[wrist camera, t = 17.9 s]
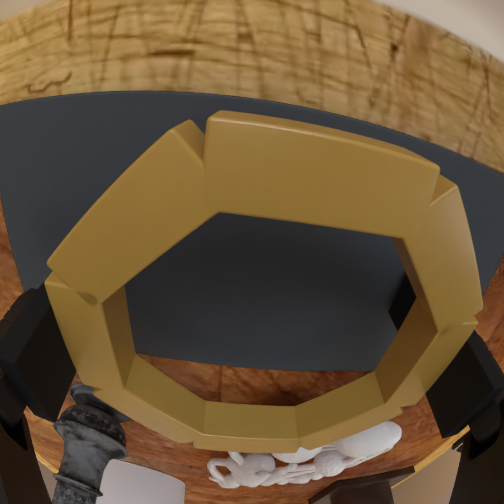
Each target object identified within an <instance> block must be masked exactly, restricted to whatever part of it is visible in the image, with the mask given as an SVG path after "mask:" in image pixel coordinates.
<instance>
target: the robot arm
mask: <svg viewBox="0 0 504 504" xmlns="http://www.w3.org/2000/svg"><path fill="white" fill-rule="evenodd" d="M50 274H51V273H50ZM50 274H49V275H50ZM49 275H48V276H49ZM46 279H47V278H46ZM46 279H45V280H46ZM45 280H44V282H45ZM44 282H43V283H42V284H41V285H40V287H39V288H38V289H34V288H30V289H29V290H27V291H26V292H25V293H23V294H22V295H20V296H19V297H18V298H17V300H16V301H15V302H14V303H13V305H12V306H11V307H10V310H8V311H7V313H6V314H5V316H4V319H2V320H1V321H0V504H52V502H51V500H50V497H49V494H48V491H47V489H46V486H45V483H44V480H43V477H42V474H41V471H40V468H39V465H38V462H37V458H36V455H35V451H34V447H33V444H32V440H31V436H30V431H29V427H28V422H27V419H26V417H25V414H24V413H23V412H24V410H25V408H26V405H27V406H28V407H29V409H30V410H31V411H32V412H33V414H34V415H36V416H38V417H41V418H43V419H46V420H48V421H51V422H53V423H56V420H57V418H58V415H59V412H60V410H61V407H62V405H63V402H64V400H65V397H66V395H67V392H68V390H69V387H70V385H71V383H72V380H73V378H74V376H75V373H76V368H75V366H74V364H73V362H72V359H71V357H70V355H69V352H68V350H67V347H66V345H65V342H64V340H63V337H62V334H61V332H60V329H59V326H58V324H57V321H56V318H55V315H54V312H53V309H52V306H51V304H50V301H49V298H48V294H47V291H46V288H45V284H44ZM416 298H417V297H416V295H415V292H414V290H413V287H412V285H411V283H410V280H409V278H408V276H407V274H406V275H405V278H404V280H403V282H402V284H401V286H400V288H399V291H398V293H397V295H396V297H395V299H394V301H393V303H392V305H391V307H390V309H389V311H388V313H389V315H390V317H391V319H392V321H393V323H394V325H395V327H396V329H397V331H399V329H400V327H401V325H402V324H403V322H404V320H405V318H406V316H407V315H408V313H409V311H410V309H411V307H412V305H413V303H414V302H415V300H416ZM425 394H426V397H427V399H428V402H429V404H430V407H431V409H432V412H433V414H434V417H435V420H436V422H437V425H438V428H439V430H440V433H441V436H442V439H443V438H446V437H449V436H453V435H456V434H458V433H459V432H460V431H461V430H463V429H464V428H465V427H466V426H467V425H469V427H470V430H469V431H468V432H467V433H466V434H465V435H463V436H462V437H461V438H460V439H458V440H457V441H456V442H455V443H454V444H453V446H452V449H453V450H454V449H455V448H456V447H458V446H459V445H460V444H461V443H463V445H461V446H460V447H459V448H458V449H457V451H458V452H461V458H460V463H459V467H458V472H457V476H456V480H455V484H454V488H453V492H452V495H451V498H450V502H449V504H504V374H503V372H502V370H501V368H500V367H499V365H498V363H497V362H496V360H495V358H494V359H493V355H492V353H491V352H490V350H488V347H487V345H486V344H485V342H484V341H483V339H482V338H481V337H480V336H479V335H478V334H477V333H476V331H475V330H474V331H473V332H472V334H471V335H470V337H469V338H468V340H467V341H466V342H465V344H464V345H463V347H462V348H461V349H460V351H459V352H458V353H457V355H456V356H455V357H454V359H453V360H452V361H451V363H450V364H449V365H448V367H447V368H446V369H445V370H444V372H443V373H442V374H441V375H440V377H439V378H438V379H437V380H436V381H435V383H434V384H433V385H432V386H431V387H430V389H429V390H428V391H427V392H426V393H425Z"/></svg>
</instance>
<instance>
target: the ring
mask: <svg viewBox="0 0 504 504" xmlns="http://www.w3.org/2000/svg"><path fill="white" fill-rule="evenodd" d="M439 173H440V167H439V166H438V165H437V164H435V163H433V162H431V161H429V160H427V159H426V158H424V157H422V156H420V155H418V154H416V153H414V152H412V151H410V150H408V149H406V148H403V147H400V146H397V145H394V144H390V143H387V142H384V141H380V140H377V139H373V138H369V137H366V136H362V135H358V134H354V133H350V132H346V131H342V130H338V129H333V128H329V127H324V126H319V125H315V124H310V123H305V122H299V121H294V120H289V119H283V118H277V117H270V116H264V115H257V114H250V113H242V112H234V111H225V110H220V111H217V112H216V113H214V114H213V115H211V116H210V117H208V119H207V121H206V129H205V135H204V134H203V132H202V131H201V130H200V129H199V128H198V127H197V125H196V124H195V123H194V122H193V121H192V120H190V119H189V120H186V121H185V122H183V123H181V124H179V125H177V126H175V127H173V128H171V129H170V130H168V131H167V132H166V133H165V134H164V135H163V136H161V137H160V138H159V139H158V140H157V141H156V142H155V143H154V144H153V145H152V146H150V147H149V148H148V149H147V150H146V151H145V152H144V153H143V154H142V155H141V156H140V157H139V158H138V159H137V160H136V161H135V162H134V163H133V164H131V165H130V166H129V167H128V168H127V169H126V170H125V171H124V172H123V173H122V174H121V175H120V176H119V178H118V179H117V180H116V181H115V182H114V183H113V184H112V185H111V186H110V187H109V188H108V189H107V190H106V191H105V192H104V193H103V194H102V195H101V196H100V198H99V199H98V200H97V201H96V202H95V203H94V204H93V205H92V206H91V208H90V209H89V210H88V211H87V212H86V213H85V214H84V215H83V217H82V218H81V219H80V220H79V221H78V222H77V224H76V225H75V226H74V227H73V228H72V230H71V231H70V232H69V233H68V235H67V236H66V237H65V238H64V239H63V241H62V242H61V243H60V245H59V246H58V247H57V248H56V250H55V251H54V252H53V254H52V255H51V256H50V257H49V259H48V260H47V265H48V267H49V268H50V269H51V270H52V272H51V274H50V275H49V276H48V277H47V279H46V280H45V282H44V284H45V288H46V291H47V294H48V298H49V301H50V304H51V306H52V309H53V312H54V315H55V318H56V321H57V324H58V326H59V329H60V332H61V334H62V337H63V340H64V342H65V345H66V347H67V350H68V352H69V355H70V357H71V359H72V362H73V364H74V366H75V368H76V371H77V373H78V376H79V378H80V380H81V382H82V383H83V384H84V385H88V386H92V387H95V388H94V391H93V395H94V396H96V397H97V398H99V399H100V400H102V401H103V402H105V403H107V404H108V405H110V406H111V407H113V408H115V409H116V410H118V411H119V412H121V413H123V414H124V415H126V416H128V417H130V418H131V419H133V420H135V421H137V422H138V423H140V424H142V425H144V426H146V427H147V428H149V429H151V430H153V431H155V432H157V433H159V434H161V435H163V436H165V437H167V438H169V439H171V440H173V441H175V442H177V443H179V444H184V443H188V442H193V444H194V448H197V449H206V450H216V451H228V452H244V453H296V452H297V450H298V449H299V448H300V447H303V448H305V449H307V450H313V449H316V448H319V447H322V446H325V445H328V444H331V443H333V442H336V441H339V440H342V439H344V438H347V437H350V436H352V435H355V434H357V433H360V432H362V431H365V430H367V429H369V428H372V427H374V426H376V425H379V424H381V423H383V422H385V421H387V420H389V419H392V418H394V417H396V416H398V415H400V414H402V413H403V408H402V407H403V406H410V405H415V404H416V403H417V402H418V401H419V400H420V399H421V398H422V397H423V396H424V395H425V393H426V392H427V391H428V390H429V389H430V387H431V386H432V385H433V384H434V383H435V381H436V380H437V379H438V378H439V377H440V375H441V374H442V373H443V372H444V370H445V369H446V368H447V367H448V365H449V364H450V363H451V361H452V360H453V359H454V357H455V356H456V355H457V353H458V352H459V351H460V349H461V348H462V347H463V345H464V344H465V342H466V341H467V340H468V338H469V337H470V335H471V334H472V332H473V331H474V329H475V328H476V326H477V325H478V321H477V320H476V318H475V317H474V315H475V314H477V313H478V312H479V311H481V310H482V309H483V301H482V293H481V286H480V279H479V273H478V267H477V261H476V256H475V251H474V246H473V241H472V237H471V232H470V228H469V224H468V220H467V216H466V212H465V209H464V205H463V201H462V198H461V195H460V191H459V188H458V186H457V185H456V184H455V183H453V182H452V181H450V180H448V179H447V178H445V177H443V176H442V175H440V174H439ZM219 212H222V213H230V214H238V215H246V216H254V217H262V218H269V219H277V220H284V221H292V222H299V223H306V224H313V225H319V226H326V227H333V228H339V229H346V230H352V231H359V232H365V233H371V234H377V235H383V236H389V237H390V239H391V241H392V243H393V245H394V247H395V249H396V251H397V254H398V256H399V258H400V260H401V262H402V265H403V267H404V269H405V271H406V274H407V276H408V278H409V280H410V283H411V285H412V287H413V290H414V292H415V295H416V297H417V298H416V300H415V302H414V303H413V305H412V307H411V309H410V311H409V313H408V315H407V316H406V318H405V320H404V322H403V324H402V325H401V327H400V329H399V331H398V332H397V334H396V336H395V337H394V339H393V341H392V342H391V344H390V346H389V347H388V349H387V351H386V352H385V354H384V355H383V357H382V359H381V360H380V362H379V363H378V365H377V366H376V368H375V369H374V371H372V372H370V373H368V374H366V375H364V376H362V377H360V378H358V379H356V380H354V381H352V382H350V383H348V384H346V385H343V386H341V387H339V388H337V389H335V390H332V391H330V392H328V393H326V394H323V395H321V396H319V397H316V398H314V399H311V400H309V401H306V402H304V403H301V404H299V405H296V406H269V405H250V404H236V403H224V402H214V401H205V400H204V399H202V398H200V397H199V396H197V395H196V394H194V393H193V392H191V391H189V390H188V389H186V388H185V387H183V386H182V385H180V384H179V383H177V382H176V381H174V380H173V379H171V378H170V377H168V376H167V375H166V374H164V373H163V372H161V371H160V370H158V369H157V368H156V367H154V366H153V365H151V364H150V363H149V362H147V361H146V360H145V359H143V358H142V357H141V356H139V355H138V354H137V353H135V347H134V342H133V337H132V331H131V325H130V319H129V313H128V306H127V300H126V292H125V284H126V283H127V282H129V281H130V280H131V279H132V278H134V277H135V276H136V275H137V274H139V273H140V272H141V271H142V270H144V269H145V268H146V267H147V266H149V265H150V264H151V263H153V262H154V261H155V260H156V259H158V258H159V257H160V256H161V255H163V254H164V253H165V252H167V251H168V250H169V249H171V248H172V247H173V246H174V245H176V244H177V243H178V242H180V241H181V240H182V239H184V238H185V237H186V236H188V235H189V234H190V233H192V232H193V231H194V230H196V229H197V228H198V227H200V226H201V225H202V224H204V223H205V222H206V221H208V220H209V219H210V218H212V217H213V216H214V215H216V214H217V213H219Z"/></svg>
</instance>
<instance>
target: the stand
mask: <svg viewBox="0 0 504 504" xmlns="http://www.w3.org/2000/svg"><path fill="white" fill-rule="evenodd" d="M413 473H415V469H414V466H412V467H408V468H404V469H400V470H396V471H391V472H387V473H382V474H377V475H372V476H366V477H360V478H354V479H347V480H340V481H336V482H335V483H333V484H332V485H330V486H329V487H327V488H326V489H325V490H323V491H322V492H320V493H319V494H317V495H315V496H314V497H312V498H311V499H309V500H308V502H309V504H329V503H331V504H394V501H393V497H392V492H391V487H392V486H394V485H395V484H397V483H399V482H400V481H402V480H404V479H405V478H407V477H408V476H410V475H412V474H413Z"/></svg>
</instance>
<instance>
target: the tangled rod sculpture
mask: <svg viewBox="0 0 504 504" xmlns="http://www.w3.org/2000/svg"><path fill="white" fill-rule="evenodd" d="M401 432H402V430H401V428H400V426H399V425H397V424H396V423H394V422H392V421H389V420H387V421H385V422H383V423H381V424H379V425H376V426H374V427H372V428H369V429H367V430H365V431H362V432H360V433H357V434H355V435H352V436H350V437H347V438H344V439H342V440H339V441H336V442H333V443H331V444H328V445H325V446H322V447H319V448H316V449H313V450H307V449H305V448H303V447H300V448H299V449H298V450H297V452H296V453H271V454H272V455H273V456H274V457H275V458H277V459H279V460H281V461H283V462H287V463H289V465H288V466H286V467H275V461H274V459H273V457H272V456H271V455H269V454H268V453H244V454H240V453H239V452H228V453H229V455H230V456H229V457H228V458H227V459H224V458H211V459H210V460H209V461H208V464H207V466H208V470H209V472H210V473H211V474H212V475H213V476H209V479H210V480H212V481H215V482H218V483H219V485H220V486H221V487H223V488H237V487H239V486H240V485H243V486H249V487H256V486H258V485H262V486H270V485H272V484H274V483H278V484H281V485H284V484H286V483H288V482H290V483H301V484H304V483H307V482H309V480H310V479H313V480H318V479H321V478H322V477H323V476H328V477H329V476H335V475H337V474H339V473H341V472H342V471H343V469H345V468H349V467H353V466H355V465H358V464H360V463H361V462H363V461H366V460H369V459H371V458H373V457H375V456H378V455H380V454H382V453H384V452H387V451H389V450H391V449H392V448H393V445H394V444H395V443H397V442H398V441H399V440H400V438H401ZM347 456H350V457H347ZM313 457H314V461H313V463H312V464H304V465H297V463H301V462H305V461H307V460H309V459H311V458H313ZM215 465H219V466H226V467H227V468H228V469H229V470H230V471H231V473H228V474H224V475H222V474H221V473H220V472H219V471H218V470H217V469H216V466H215Z"/></svg>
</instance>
